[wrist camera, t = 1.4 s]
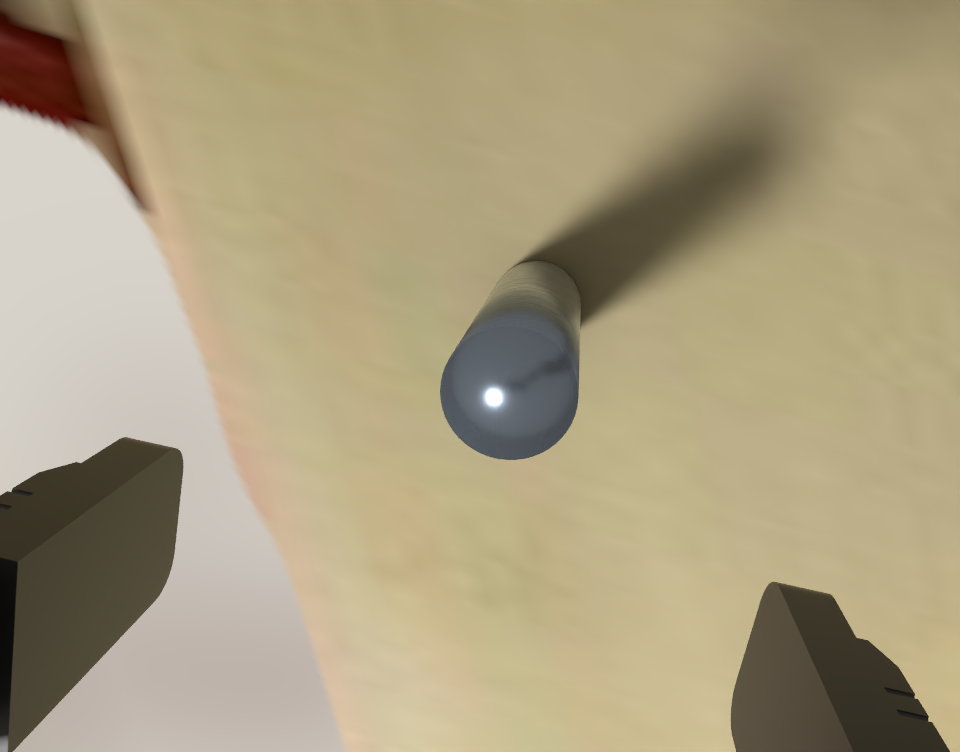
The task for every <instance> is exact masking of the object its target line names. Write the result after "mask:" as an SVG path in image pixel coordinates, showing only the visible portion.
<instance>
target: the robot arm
mask: <svg viewBox="0 0 960 752" xmlns="http://www.w3.org/2000/svg"><path fill="white" fill-rule="evenodd" d="M182 476H183V458H182V454H181V452H180V450H178V449H176V448H172V447H167V446H162V445H158V444H154V443H149V442H145V441H140V440H135V439H131V438H127V437H125V438H121V439H119V440H117V441H116V442H114V443H113V444H111V445H110V446H108V447H106V448H105V449H103V450H102V451H100V452H98V453H97V454H95V455H94V456H92V457H90V458H89V459H87V460H86V461H84V462H83V463H77V462H75V463H72V464H68V465H65V466H61V467H57V468H54V469H51V470H46V471H43V472H39V473H37V474H36V475H34V476H32V477H31V478H29V479H27V480H26V481H24V482H22V483H21V484H19V485H17V486H16V487H14V488H13V489H12V492H5V493H4V494H2V495H1V496H0V752H12V751H14V750H15V749H16V748H17V747H18V745H19V744H20V743H21V742H22V741H23V740H24V739H25V738H26V737H27V736H28V735H29V734H30V733H31V732H32V731H33V730H34V728H35V727H36V726H37V725H38V724H39V723H40V722H41V721H42V720H43V719H44V718H45V717H46V716H47V715H48V714H49V713H50V711H51V710H52V709H53V708H54V707H55V706H56V705H57V704H58V703H59V702H60V701H61V700H62V699H63V698H64V697H65V696H66V694H68V692H69V691H70V690H71V689H72V688H73V687H74V686H75V685H76V684H77V683H78V682H79V681H80V680H81V679H82V677H84V675H85V674H86V673H87V672H88V671H89V670H90V669H91V668H92V667H93V666H94V665H95V664H96V663H97V662H98V661H99V660H100V658H102V656H103V655H104V654H105V653H106V652H107V651H108V650H109V649H110V648H111V647H112V646H113V645H114V644H115V643H116V642H117V641H118V640H119V638H120V637H121V636H122V635H123V634H124V633H125V632H126V631H127V630H128V629H129V628H130V627H131V626H132V625H133V624H134V623H135V621H136V620H137V619H138V618H139V617H140V616H141V615H142V614H143V613H144V612H145V611H146V610H147V609H148V608H149V607H150V606H151V604H153V602H154V601H155V600H156V599H157V598H158V596H159V595H160V593H161V592H162V590H163V588H164V586H165V584H166V581H167V579H168V577H169V573H170V570H171V567H172V563H173V558H174V551H175V542H176V533H177V523H178V514H179V504H180V495H181V485H182ZM914 696H915V693H914V692H913V690H912V689H911V687H910V685H909V684H908V682H907V680H906V679H905V677H904V675H903V674H902V672H901V671H900V669H899V667H898V666H897V665H895V664H894V663H893V662H892V661H891V660H890V659H889V658H887V657H886V656H885V655H884V654H883V653H882V652H881V651H879V650H878V649H877V648H876V647H875V646H874V645H873V644H871V643H870V642H869V641H868V640H863V639H859V638H856V636H855V635H854V633H853V631H852V629H851V627H850V626H849V624H848V622H847V620H846V619H845V617H844V615H843V613H842V611H841V610H840V608H839V606H838V604H837V603H836V601H835V599H834V598H833V596H832V595H830V594H827V593H823V592H818V591H813V590H809V589H804V588H800V587H795V586H791V585H786V584H782V583H777V582H771V583H770V584H769V585H768V586H767V588H766V590H765V591H764V594H763V596H762V599H761V602H760V605H759V608H758V611H757V615H756V618H755V621H754V625H753V628H752V631H751V635H750V638H749V641H748V644H747V648H746V651H745V654H744V658H743V661H742V664H741V668H740V671H739V674H738V677H737V681H736V684H735V688H734V693H733V699H732V707H731V730H732V736H733V740H734V744H735V748H736V752H950V751H949V749H948V748H947V746H946V744H945V743H944V741H943V739H942V738H941V736H940V734H939V733H938V731H937V729H936V728H935V726H934V725H933V723H932V722H928V717H929V716H928V715H927V713H926V711H925V710H924V708H923V707H922V705H921V703H920V702H919V700H918V699H914Z"/></svg>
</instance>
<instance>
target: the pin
mask: <svg viewBox="0 0 960 752" xmlns="http://www.w3.org/2000/svg"><path fill="white" fill-rule="evenodd" d="M580 315H581V301H580V295H579V291H578V289H577V286H576V284H575V283H574V281H573V279H572V278H571V277H570V276H569V275H568V274H567V273H566V272H565V271H564V270H563V269H561V268H560V267H558V266H556V265H554V264H551V263H548V262H544V261H529V262H525V263H521V264H519V265H517V266H515V267H513V268H511V269H510V270H509V271H507V272H506V273H505V274H504V275H503V276H502V278H501V279H500V280H499V282H498V283H497V285H496V286H495V288H494V290H493V291H492V293H491V294H490V296H489V297H488V299H487V301H486V302H485V304H484V305H483V307H482V308H481V310H480V311H479V313H478V315H477V316H476V318H475V319H474V321H473V322H472V324H471V326H470V327H469V329H468V330H467V332H466V333H465V335H464V337H463V338H462V340H461V341H460V343H459V344H458V346H457V347H456V349H455V351H454V352H453V354H452V355H451V357H450V359H449V360H448V362H447V364H446V366H445V369H444V372H443V375H442V380H441V388H440V395H441V403H442V408H443V411H444V414H445V417H446V419H447V421H448V423H449V425H450V427H451V428H452V430H453V431H454V432H455V434H456V435H457V436H458V437H459V438H460V439H461V440H462V441H463V442H464V443H465V444H467V445H468V446H469V447H471V448H472V449H474V450H476V451H478V452H479V453H481V454H484V455H487V456H489V457H493V458H497V459H505V460H517V459H525V458H529V457H532V456H535V455H538V454H540V453H542V452H544V451H546V450H548V449H549V448H550V447H552V446H553V445H555V444H556V443H557V442H558V441H559V440H560V439H561V438H562V437H563V436H564V434H565V433H566V432H567V430H568V429H569V427H570V425H571V423H572V421H573V419H574V416H575V413H576V409H577V404H578V389H579V352H580Z"/></svg>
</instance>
